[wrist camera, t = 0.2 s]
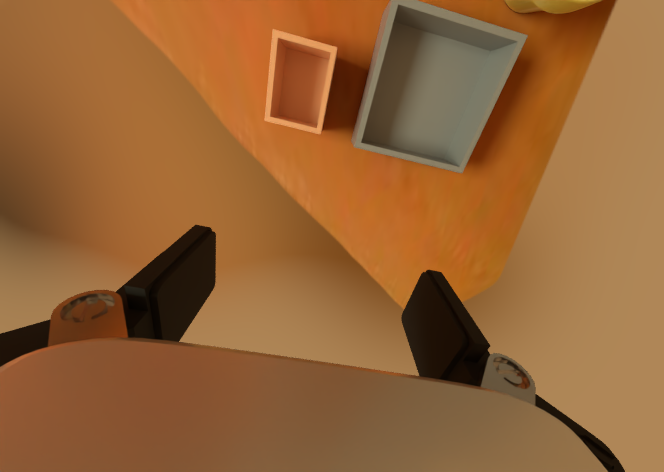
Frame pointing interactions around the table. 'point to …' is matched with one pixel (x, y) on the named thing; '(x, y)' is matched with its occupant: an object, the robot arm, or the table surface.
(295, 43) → the terracotta crate
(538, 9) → the plant pot
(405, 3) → the grey crate
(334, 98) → the table surface
